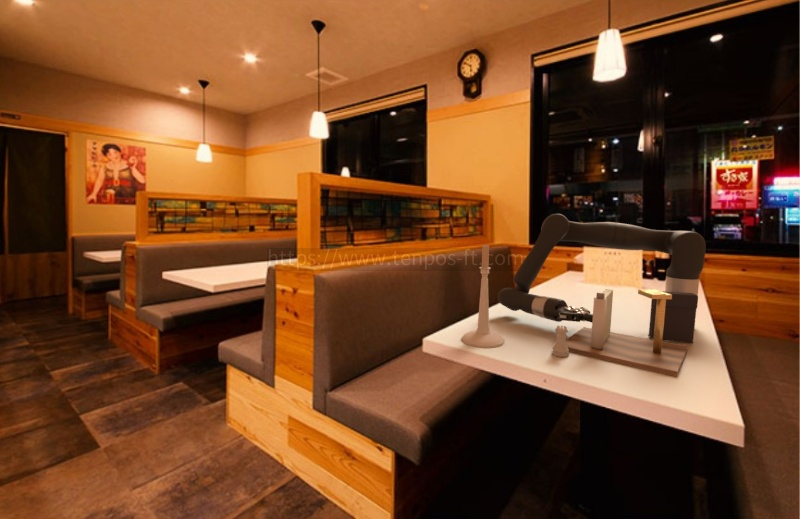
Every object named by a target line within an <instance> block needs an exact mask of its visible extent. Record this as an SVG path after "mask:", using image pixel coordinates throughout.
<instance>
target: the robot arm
mask: <svg viewBox="0 0 800 519" xmlns="http://www.w3.org/2000/svg"><path fill="white" fill-rule="evenodd" d="M540 230H541V231H540V233H539V235H538V237H537V240H535V243H534V245H533V246H532V248H531V250H530V251H529V253H528V254H527V255H526V257H524V259H523V261H522V263H521V264H520V265H519V267H518V269H517V271H516V273H515V274H514V276H513V278H512V282H513V283H514V284H515V288H513V287H505V288H502V289H501V290H499V292H498V294H497V300H498V302H499V303H500V304H501V305H502V306H504V307H505V308H507V309H509V310H511V311H512V312H513V311H514V312H517V311H522V312H524V313H527V314H530V315H533V316H536V317H540V319H541V318H542V319H546V320H550V321H552V322H557V323H560V322H563V321H568V322H577V323H580V322H589V323H592V321H593V313H591V311H590V310H589V309H587V308H585V307H583V306H581V307H580V308H578V307H576V306H574V305H569V306H568V304H567V302H566V300H564V299H560V298H556V297H550V296H545V295H538V294H533V293H530V288H531V287H532V285H533V283H534V282H535V280H536V278H537V276H539V273H540V272H541V270H542V268H543V266H544V264H545V262H546V260H547V259H548V256H550V254H551V252H552V251H553V249H554V248H555V246H556V245H557V244H558V243H559V242H576V243H582V244H587V245H592V246H596V247H597V246H598V247H602V248H603V247H604V248H610V249H616V250H626V251H627V250H629V251H639V250H640V251H644V250H645V251H653V252H658V253H663V254H667V255H671V261H670V265H669V267H667V269H666V273H665V274H666V275H665V289H664V291H665V292H682V293H693V294H695V295H697V296H698V297H699V285H700V276H701V273H702V271H703V269H704V263H705V256H706V248H707V247H706V246H707V245H706V240H705V238H704V237H703V235H701V234H700V233H698V232H696V231H690V230H660V229H659V230H658V229H657V230H656V229H652V228H651V229H650V228H646V227H642V226H638V225H634V224H629V223H628V224H627V223H620V222H614V221H613V222H612V221H604V222H603V221H602V222H601V221H600V222H599V221H598V222H578V221H577V222H576V221H570V220H569V219H568V218H567V217H566V216H565V215H563V214H561V213H552V214H550V215H549V216H547V217H546V218H545V219H544V220H543V222H542V225H541V228H540ZM696 318H697V315H696V316H695V319H696ZM695 327H696V326H695ZM695 327H694V329H695Z"/></svg>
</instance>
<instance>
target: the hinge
mask: <svg viewBox="0 0 800 519" xmlns="http://www.w3.org/2000/svg"><path fill="white" fill-rule="evenodd" d="M613 295H614V290H613V289H608V288H607V289H605V290H603V291H602V292H596V297H593V307H592V314H593V321H592V322H591V328H592V337H591V347H593V348H596V349H603V348H604V342H605V341H606V339H607V338H608V336H609V335H610V332H611V327H612V312H613V311H612V310H613V300H614V299H613V297H614V296H613Z"/></svg>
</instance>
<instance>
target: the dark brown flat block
mask: <svg viewBox="0 0 800 519" xmlns="http://www.w3.org/2000/svg"><path fill="white" fill-rule="evenodd" d="M662 292H665V290H664V291H662ZM665 293H668V294H671V295H672V299H666V305H665V317H664V328H663V340H662V342H675V343H685V344H686V343H687V344H693V343H694V337H695V336H694V335H695V328H694V327H696V318H695V316H696V317H697V309H698V302H699V295H698V296H697V295H695V294H693V293H682V292H665ZM656 305H657V299H651V305H650V314H649V315H650V316H649V326H648V327H649V329H648V337H649V339H651V340H654V329H655V317H656Z"/></svg>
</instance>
